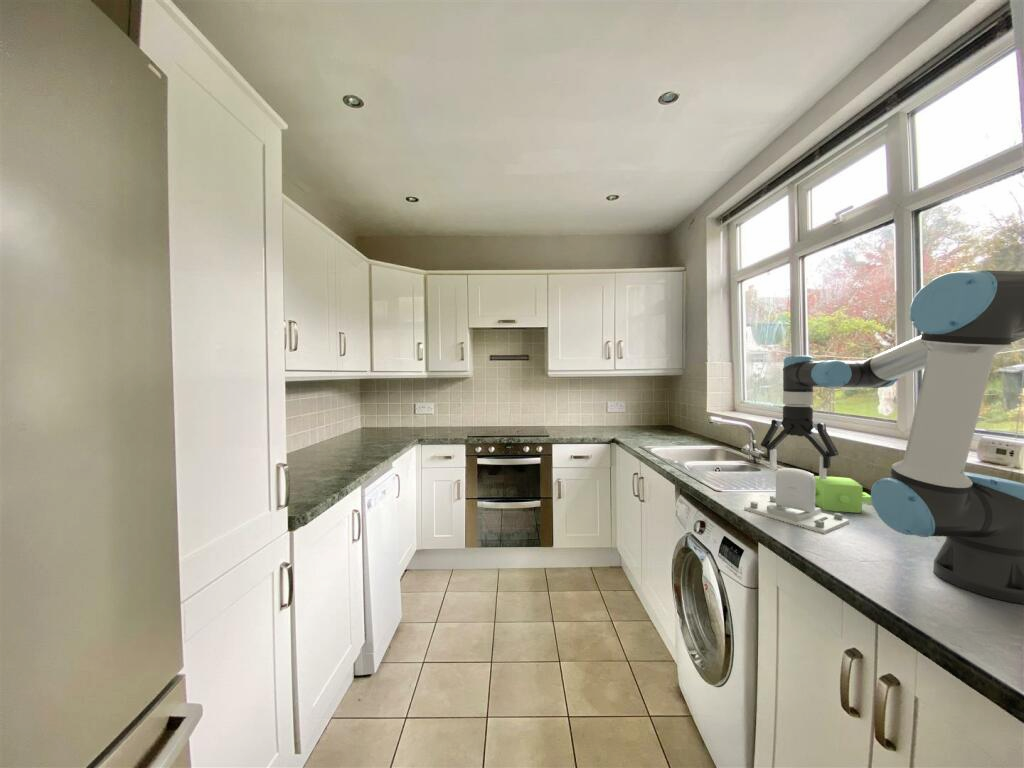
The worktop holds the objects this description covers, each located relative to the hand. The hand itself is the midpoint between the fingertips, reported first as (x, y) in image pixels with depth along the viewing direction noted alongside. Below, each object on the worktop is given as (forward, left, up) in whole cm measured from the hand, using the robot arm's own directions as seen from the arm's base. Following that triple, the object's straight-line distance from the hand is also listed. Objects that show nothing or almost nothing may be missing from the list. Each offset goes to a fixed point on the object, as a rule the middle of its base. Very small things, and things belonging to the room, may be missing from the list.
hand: (796, 474), depth 121 cm
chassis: (0, 0, -13) cm, 13 cm away
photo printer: (0, 0, -11) cm, 11 cm away
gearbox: (-2, -21, -14) cm, 25 cm away
